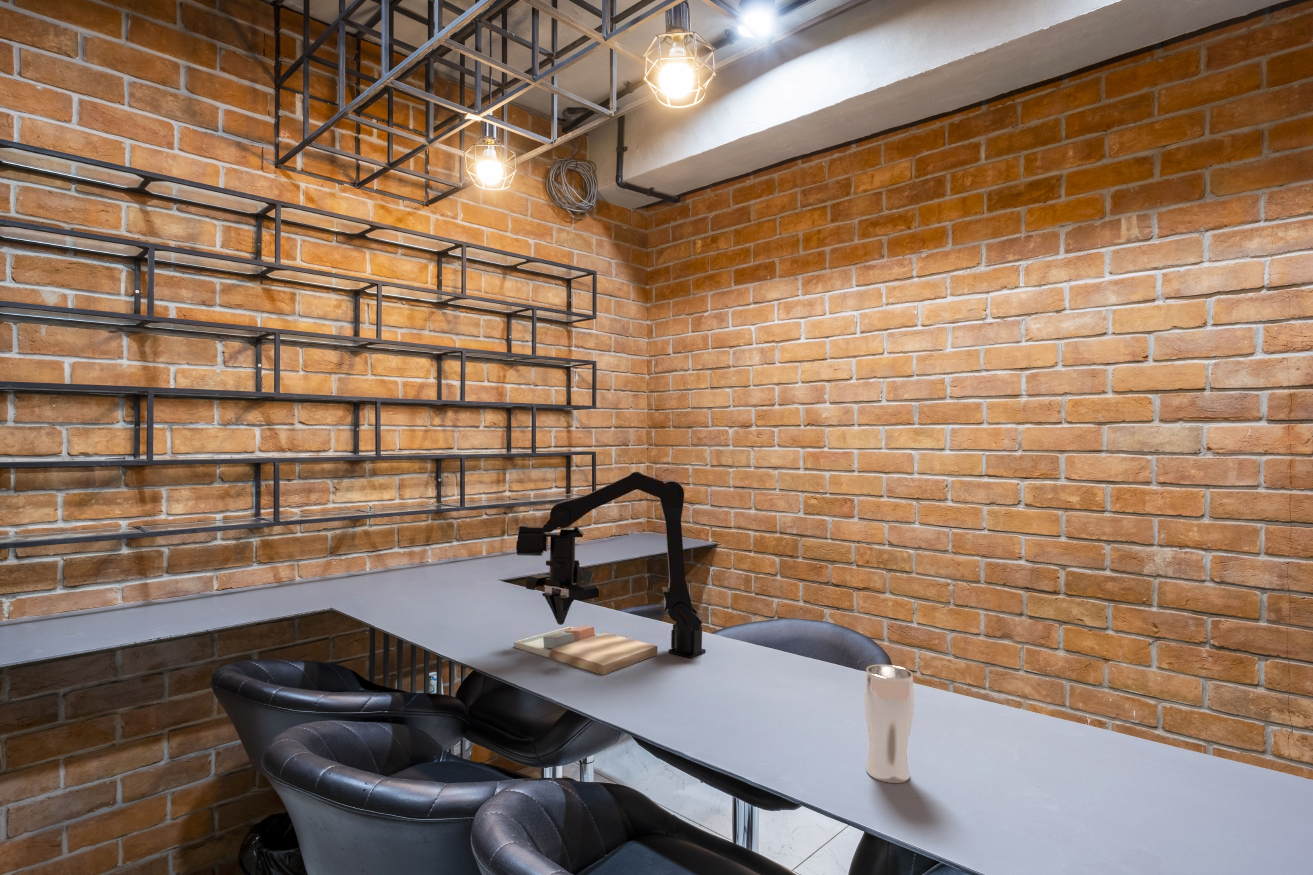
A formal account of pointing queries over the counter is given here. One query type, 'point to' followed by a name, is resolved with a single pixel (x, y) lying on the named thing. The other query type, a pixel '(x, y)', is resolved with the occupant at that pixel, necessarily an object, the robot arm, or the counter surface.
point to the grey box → (558, 640)
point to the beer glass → (888, 721)
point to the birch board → (603, 653)
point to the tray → (538, 643)
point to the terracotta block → (581, 633)
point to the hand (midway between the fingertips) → (560, 624)
